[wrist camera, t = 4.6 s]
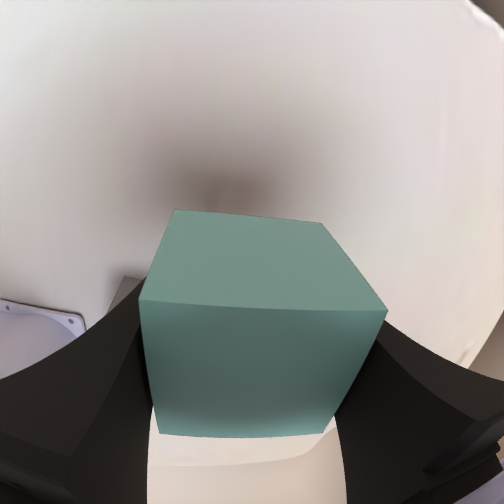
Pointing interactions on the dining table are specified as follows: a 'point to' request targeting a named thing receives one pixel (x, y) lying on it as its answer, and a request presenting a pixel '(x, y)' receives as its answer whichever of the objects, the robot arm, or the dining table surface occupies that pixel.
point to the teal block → (252, 326)
